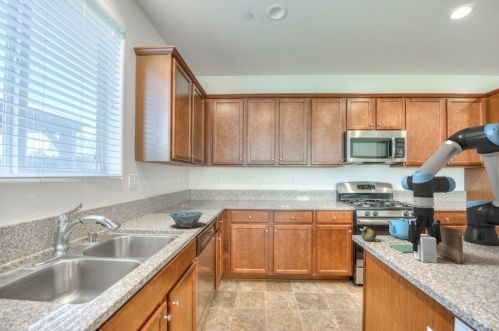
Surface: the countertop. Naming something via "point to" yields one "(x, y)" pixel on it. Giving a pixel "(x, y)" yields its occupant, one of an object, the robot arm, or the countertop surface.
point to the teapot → (399, 228)
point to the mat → (403, 248)
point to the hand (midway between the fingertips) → (425, 258)
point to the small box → (428, 248)
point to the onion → (368, 234)
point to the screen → (451, 245)
